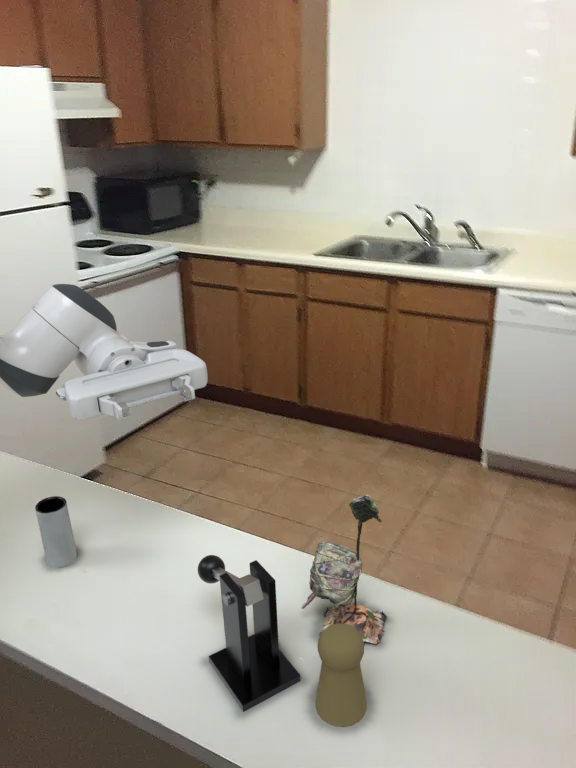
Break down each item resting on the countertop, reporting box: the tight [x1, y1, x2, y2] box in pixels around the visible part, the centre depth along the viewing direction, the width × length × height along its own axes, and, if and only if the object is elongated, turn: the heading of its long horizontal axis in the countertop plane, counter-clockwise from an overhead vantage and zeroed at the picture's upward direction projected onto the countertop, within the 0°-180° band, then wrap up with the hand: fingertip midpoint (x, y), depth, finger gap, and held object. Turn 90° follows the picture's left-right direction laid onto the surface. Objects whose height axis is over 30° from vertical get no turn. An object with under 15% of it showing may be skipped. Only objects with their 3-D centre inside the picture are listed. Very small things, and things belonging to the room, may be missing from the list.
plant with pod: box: [301, 494, 388, 645], centre depth 86 cm, size 8×11×20 cm
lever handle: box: [197, 554, 264, 608], centre depth 83 cm, size 14×4×4 cm, turn 32°
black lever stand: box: [208, 559, 302, 713], centre depth 80 cm, size 9×8×15 cm
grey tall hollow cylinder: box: [34, 495, 78, 569], centre depth 102 cm, size 4×4×10 cm
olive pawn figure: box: [314, 623, 367, 728], centre depth 76 cm, size 6×6×11 cm
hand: (157, 404), depth 90 cm, fingers open, 8 cm apart
